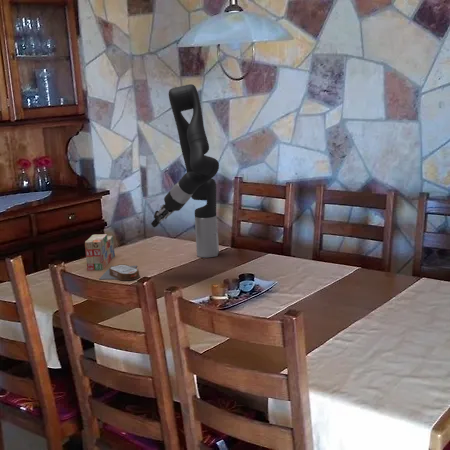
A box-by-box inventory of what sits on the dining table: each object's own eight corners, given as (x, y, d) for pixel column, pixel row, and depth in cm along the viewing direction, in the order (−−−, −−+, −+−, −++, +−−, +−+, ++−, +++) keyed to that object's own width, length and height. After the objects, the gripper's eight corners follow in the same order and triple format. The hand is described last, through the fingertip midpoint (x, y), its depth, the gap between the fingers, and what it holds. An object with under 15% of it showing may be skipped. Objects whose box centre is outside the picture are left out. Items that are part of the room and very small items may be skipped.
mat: (137, 266, 260) (137, 265, 260) (126, 279, 243) (126, 278, 243) (111, 266, 261) (111, 265, 261) (99, 279, 245) (98, 278, 244)
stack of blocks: (101, 256, 278) (98, 229, 275) (115, 256, 277) (112, 228, 274) (87, 270, 257) (84, 241, 254) (102, 270, 256) (99, 241, 254)
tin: (123, 268, 256) (105, 275, 251) (122, 261, 255) (104, 267, 250) (143, 276, 245) (125, 283, 239) (142, 269, 244) (124, 275, 239)
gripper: (181, 185, 241) (156, 214, 250) (163, 191, 230) (137, 222, 238) (194, 199, 240) (168, 228, 249) (176, 206, 229) (150, 236, 237)
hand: (153, 225), depth 243 cm, fingers closed
